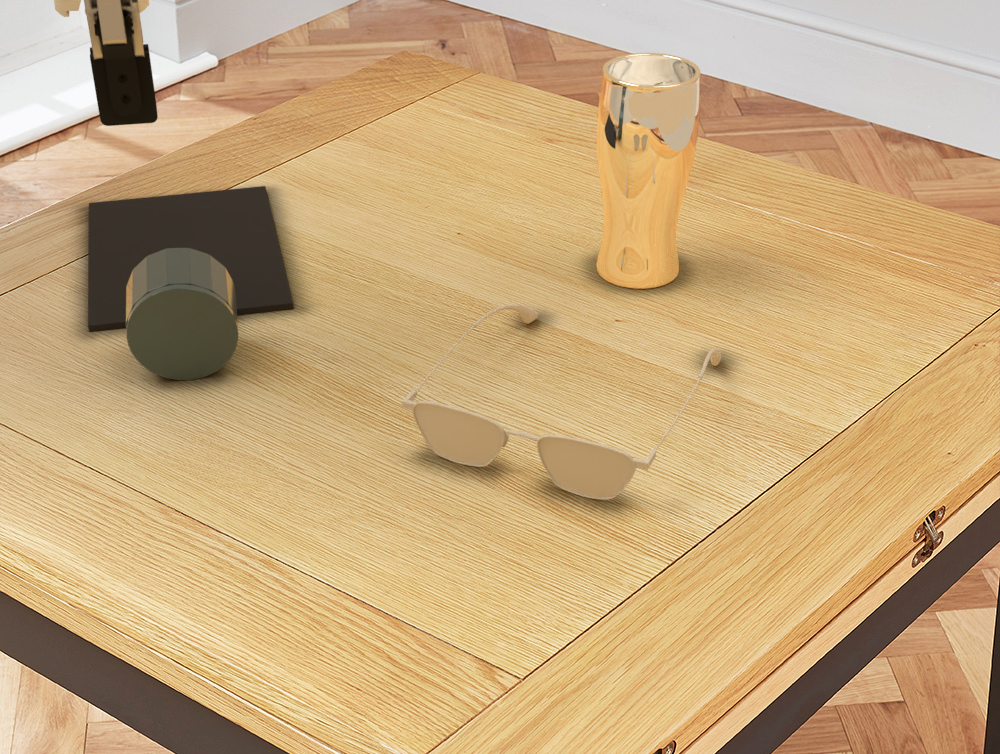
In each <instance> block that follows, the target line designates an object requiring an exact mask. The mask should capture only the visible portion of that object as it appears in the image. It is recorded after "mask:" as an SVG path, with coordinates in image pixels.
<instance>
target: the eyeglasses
mask: <svg viewBox="0 0 1000 754" xmlns="http://www.w3.org/2000/svg"><path fill="white" fill-rule="evenodd" d="M505 310H507V311H514V312H516V313H518V314H519V316H520V318H521V320H522V321H523V323H525V324H530V323H533V322H534V321H535V320H537V319H538V318H539V316H540V313H538V312H537V311H536V310H535V309H532V308H531V307H528V306H526V305H522V304H505V305H501V306H498V307H496V308H493V309H491V310H490V311H488V312H487V313H486V314H484V315H483V316H481V317H480V318H479V319H478V320H477V321H476V322H474V323H472V326H471V327H470V328H469V329H468V331H466V332H465V333H464V335H462V336H461V337H460V338H459V339H458V341H457V342H456V343H455V344H454V345H453V346H452V347H451V348H450V349H449V350H448V351H447V352H446V353H445V354H444V356H443V357H442V358H441V359H440V360H439V361H438V363H437V364H436V365H435V366H434V367H433V369H432V370H431V371H430V372H429V374H428V375H426V377H425V378H424V379H423V381H422V382H421V383H420V385H419V386H418V387H417V388H416V389H411V390H410V391H409V392H408V394H407V395H406V396H405V397H404V398H403V399H402V400H401V408H403V409H406V410H409V411H412V417H413V420H414V422H415V424H416V426H417V428H418V430H419V432H420V434H421V436H422V437H423V439H424V441H425V443H426V444H427V445H428V447H429V449H430V450H431V451H432V452H433V453H435V454H436V455H437V456H439V457H441V458H443V459H445V460H448V461H450V462H453V463H456V464H459V465H464V466H470V467H476V468H477V467H480V468H482V467H487V466H489V465H490V464H491V463H492V462H493V461H495V459H496V458H497V456H498V455H499V453H500V452H501V450H502V448H506V446H507V444H508V441H509V439H510V436H509V435H512V436H518V437H522V438H525V439H527V440H531V441H533V442H536V449H537V454H538V456H539V460H540V461H541V464H542V466H543V468H544V470H545V472H546V474H547V475H548V477H549V478H550V480H551V481H552V483H553V484H554V485H555V486H556V487H558V488H560V489H561V490H564V491H566V492H569V493H571V494H574V495H577V496H580V497H583V498H587V499H592V500H600V501H601V500H602V501H604V500H605V501H606V500H612V499H614V498H616V497H617V496H619V494H621V493H622V492H623V491H624V489H626V487H627V486H628V484H629V483H630V482H631V480H632V479H633V477H634V475H635V474H636V470H637V469H639V470H644V471H648V470H649V469H650V468H651V466H652V464H653V462H654V461H655V459H656V457H657V451H658V449H659V448H660V446H661V445H662V444H663V442H664V440H665V439H666V437H667V436H668V434H670V431H672V429H673V427H674V426H675V424H676V423H677V421H678V420H679V419H680V417H681V415H682V414H683V412H684V410H685V408H686V407H687V405H688V403H689V401H690V400H691V398H692V396H693V395H694V393H695V391H696V389H697V387H698V386H699V384H700V381H701V380H702V379H703V377H704V374H705V372H706V370H707V367H708V364H709V362H710V363H711V364H712V366H714V367H716V366H718V365H719V364H720V362H721V359H722V353H721V352H720V350H719V349H718V348H716V347H713V348H711V349H710V350H709V351H708V353H707V354H706V356H705V358H704V361H703V363H702V364H703V365H702V367H701V369H700V373H699V375H698V377H697V380H696V383H695V385H694V386H693V388H692V391H691V392H690V394H689V396H688V397H687V399H686V401H685V402H684V404H683V406H682V408H681V410H680V411H679V412H678V414H677V416H676V418H675V419H674V420H673V422H672V423H671V425H669V426H670V427H669V428H668V429H667V431H666V432H665V433H664V435H663V436H662V438H661V439H660V441H659V442H658V444H657V445H656V447H655V448H653V449H652V448H651V449H650V451H649V452H648V454H647V455H646V458H645V459H644V458H638V457H633V456H631V454H630V453H628V452H626V451H624V450H621V449H619V448H616V447H614V446H610V445H607V444H604V443H600V442H597V441H592V440H588V439H583V438H579V437H573V436H569V435H562V434H555V433H554V434H550V433H547V434H544V435H542V436H540V437H539V436H536V435H533V434H531V433H529V432H526V431H523V430H517V429H506V428H505V429H504V427H503V426H502V425H501V424H500V423H499V422H497V421H496V420H494V419H492V418H490V417H488V416H485V415H482V414H480V413H476V412H474V411H471V410H467V409H463V408H460V407H457V406H453V405H449V404H445V403H441V402H436V401H430V400H419V401H417V402H416V401H415V400H416V399H417V395H418V392H419V390H420V389H421V388H422V387H423V386H424V384H425V383H426V382H427V381H428V379H429V378H430V377H431V375H432V374H433V373H434V372H435V371H436V369H437V368H439V366H440V364H441V363H442V362H443V361H444V360H445V359H446V358H447V357H448V356H449V354H451V352H452V351H453V350H454V349H455V348H456V347H457V346H458V345H459V344H460V343H461V342H462V341H463V339H465V338H466V336H468V334H469V333H470V332H472V330H474V329H475V328H477V327H478V326H479V325H480V324H481V323H482V322H483V321H485V320H486V319H487V318H489V317H490V316H492V315H494V314H496V313H498V312H500V311H505Z"/></svg>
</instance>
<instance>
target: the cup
mask: <svg viewBox="0 0 1000 754" xmlns="http://www.w3.org/2000/svg"><path fill="white" fill-rule="evenodd" d="M125 330H126V331H125V332H126V342H127V345H128V348H129V351H130V352H131V354H132V356H133V358H135V359H136V361H137V362H138V363H139V364H140V366H142V367H144V368H145V369H146V370H148V371H150V372H151V373H153V374H155V375H156V376H159V377H162V378H164V379H170V380H176V381H190V380H192V381H193V380H198V379H202V378H206V377H207V376H210V375H212V374H214V373H216V372H218V371H219V370H220V369H222V368H223V367H224V366H225V365H227V363H228V362H229V361H230V360H231V358H232V357H233V356H234V354H235V352H236V349H237V347H238V343H239V321H238V315H237V309H236V298H235V288H234V283H233V281H232V279H231V277H230V275H229V273H228V271H227V270H226V268H225V267H224V266H223V265H222V264H221V263H219V262H218V261H217V260H216V259H214V258H213V257H212V256H211V255H209V254H206V253H203V252H200V251H197V250H194V249H191V248H167V249H164V250H161V251H159V252H156V253H153V254H151V255H148V256H147V257H146V258H144V259H143V260H142V261H141V262H140V263H139V264H138V265H137V266H136V267H135V268H134V269H133V270H132V273H131V276H130V278H129V281H128V283H127V286H126V328H125Z"/></svg>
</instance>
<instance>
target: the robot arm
mask: <svg viewBox="0 0 1000 754" xmlns="http://www.w3.org/2000/svg"><path fill="white" fill-rule="evenodd" d="M53 2H54V3H53V4H54V10H55V11H56V12H57V13H58V14H59V15H60V16H62V17H63V18H69V17H70V12H78V11H79V10H80V6H81V2H82V0H53ZM83 4H84V14H85V15H86V21H87V26H88V27H87V28H88V33H89V38H90V44H91V47H90V46H89V60H90V66H91V72H92V73H91V74H92V78H93V84H94V91H95V97H96V102H97V109H98V113H99V115H98V116H99V120H100V123H101V124H102V125H104V126H106V127H111V126H112V127H114V126H128V125H130V126H131V125H142V124H153V123H155V122H157V120H158V105H157V98H156V93H155V92H156V91H155V84H154V78H153V69H152V63H151V56H150V55H151V54H150V48H149V44H148V43H145V44H144V37H143V29H142V21H141V13H143V12H144V11H145V10H147V8H148V7H149V6H150V0H83Z"/></svg>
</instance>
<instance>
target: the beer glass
mask: <svg viewBox="0 0 1000 754" xmlns="http://www.w3.org/2000/svg"><path fill="white" fill-rule="evenodd" d="M700 77H701V69H700V67H699V66H698V65H697V64H696V63H694V62H693V61H691V60H689V59H687V58H684V57H681V56H678V55H673V54H667V53H659V52H658V53H657V52H637V53H635V52H634V53H628V54H622V55H618V56H616V57H614V58H611V59H610V60H607V61H606V62H605V63H604V64H603V66H602V77H601V84H600V85H601V86H600V91H599V100H598V109H597V119H596V156H597V166H598V174H599V175H598V176H599V183H600V190H601V198H602V207H603V233H602V238H601V243H600V247H599V251H598V254H597V259H596V271H597V273H598V275H599V276H600V277H601V278H602V279H603V280H605V281H606V282H608V283H610V284H612V285H615V286H618V287H622V288H627V289H635V290H646V289H656V288H659V287H663V286H666V285H668V284H670V283H671V282H673V281H674V280H675V279H676V278H677V277H678V275H679V271H680V262H679V255H678V245H677V233H678V231H677V230H678V224H679V223H678V222H679V217H680V213H681V209H682V205H683V201H684V198H685V194H686V191H687V188H688V184H689V181H690V177H691V173H692V169H693V166H694V165H693V164H694V161H695V156H696V150H697V144H698V136H699V122H700V95H701V94H700V93H701V92H700V85H701V84H700V81H701V80H700Z"/></svg>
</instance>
